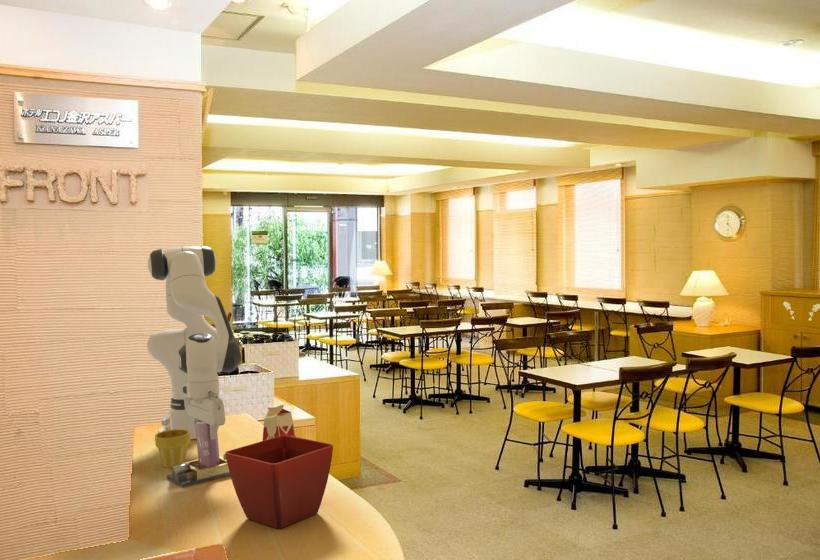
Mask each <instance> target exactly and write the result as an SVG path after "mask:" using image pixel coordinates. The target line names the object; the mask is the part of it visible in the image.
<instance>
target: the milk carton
mask: <svg viewBox="0 0 820 560" xmlns="http://www.w3.org/2000/svg"><path fill="white" fill-rule="evenodd" d="M284 406H285V404H280V405H278V406H273V407H266V409H267V410H268V411H267V412H266V415H265V416H264V417H263V420H264V421H263V430H262V441H264V440H268V439H271V438H275V437H279V436H282V435H288V436H293V437H297V435H296V430H295V425H294V421H293V416H292V415H293V414H292V412H291V411H290V410H287V409H284Z"/></svg>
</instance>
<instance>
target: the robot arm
mask: <svg viewBox="0 0 820 560" xmlns="http://www.w3.org/2000/svg"><path fill="white" fill-rule="evenodd" d="M216 267H217V256H216V254H215V252H214V250H213V249H212V247H209V246H204V245H201V246H191V245H190V246H187V245H185V246H184V245H183V246H179V247H178V246H177V247H168V248H165V249H163V248H159V249H154V250H152V251H151V252H150V254H149V257H148V260H147V269H148V272H149V273H150V275H151V278H153V279H154V280H157V281H165V300H166V312H167V314H168V316H169V317H170V318H171V319H173V320H175V321H178V322H181V323H182V324H184V325H185V326H186V327H185V328H171V329H170V328H169V329H162V330H159V331H155V332H152V334H151V335H150V336H149V337H148V340H147V343H146V349H147V352H148V353H149V355H150V356H151V357H152V358H153V359H154V360H156V361H157V362H158V363H160V364H161V365H162V366H163V367H164V368H165V370H166V371H167V373H168V376H169V380H170V387H171V394H172V395H171V398H170V409H169V410H168V412H167V413H166V415H165V416H164V418H163V419H161V425H162V426H164V427H161V428H159V429H158V430H157V433H160V432H163V431H167V430H174V429H185V430H188V431H190V440H194V439H195V440H197V437H196V421H198V420H199V421H201V422H204V423H206V424H209V425H210V428H211V429H210V433H209V438H210V439H212V440H213V439H216V438H217V434H218V431H219V427H220V426H224V425H225V424H226V413H225V406H224V402H223V400H222V398H220V397H219V396H220V380H219V378H220V377H219V374H218V373H220V372H221V373H229V372H234V371H235V370H237V368H238V367H239V366H240V365H241V363H242V351H241V348H240V345H239V344H238V340H237V339H236V336H235V335H234V332H233V329H232V327H231V324H230V322H229V318H228V315H227V312H226V311H225V308H224V305H223V302H222V300H221V299H220V296H218V295H217V294H214V293H213V292H212V291H211V290H210V289H209V287H208V285H207V281H206V278H207V277H209V276H212V275H213V274H214V273H215V271H216ZM204 316H205V317H207V318H209V319H210V320H211V321H212V322H213V324H214V326H212V325H211V324H210V323H209V322H208V321H207V320H206V319H205V317H204Z"/></svg>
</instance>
